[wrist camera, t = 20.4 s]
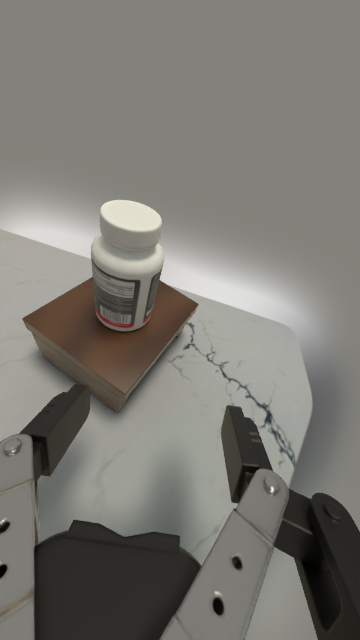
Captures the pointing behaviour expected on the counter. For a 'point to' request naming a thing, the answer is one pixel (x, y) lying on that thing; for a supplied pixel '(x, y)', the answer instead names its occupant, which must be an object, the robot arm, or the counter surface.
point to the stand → (106, 340)
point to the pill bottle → (126, 264)
